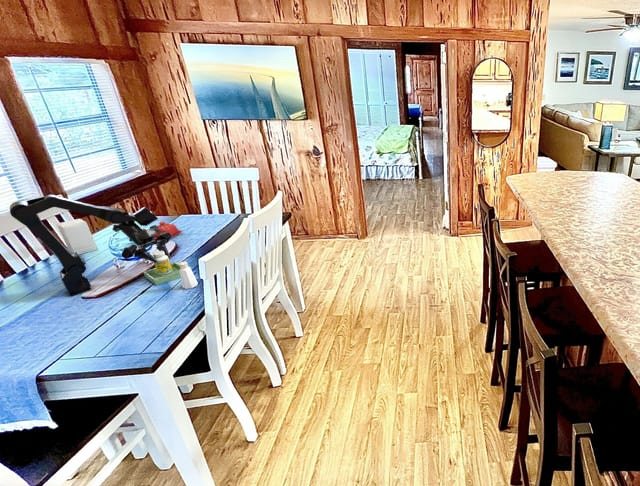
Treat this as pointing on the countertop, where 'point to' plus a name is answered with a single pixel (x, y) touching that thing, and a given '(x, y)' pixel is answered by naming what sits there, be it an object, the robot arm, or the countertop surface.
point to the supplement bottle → (162, 263)
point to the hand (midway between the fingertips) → (163, 259)
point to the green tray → (163, 278)
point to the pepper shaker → (187, 276)
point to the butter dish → (167, 229)
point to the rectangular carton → (77, 236)
